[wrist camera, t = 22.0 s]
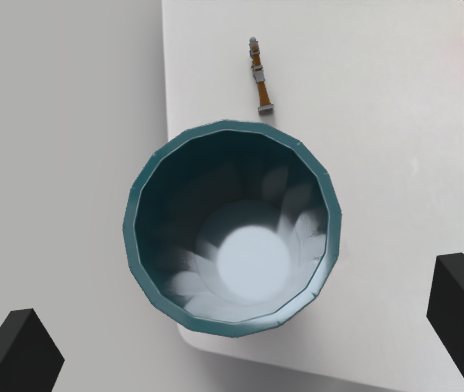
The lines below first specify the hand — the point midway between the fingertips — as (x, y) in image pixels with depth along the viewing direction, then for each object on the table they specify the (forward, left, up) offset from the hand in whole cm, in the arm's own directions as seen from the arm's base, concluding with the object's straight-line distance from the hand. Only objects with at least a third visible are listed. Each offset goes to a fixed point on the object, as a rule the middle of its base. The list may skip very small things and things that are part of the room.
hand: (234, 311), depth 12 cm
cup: (-1, +3, -10) cm, 11 cm away
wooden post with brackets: (-3, +24, -27) cm, 36 cm away
